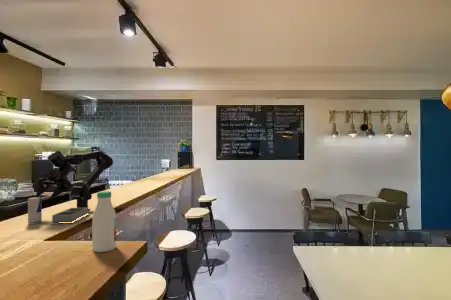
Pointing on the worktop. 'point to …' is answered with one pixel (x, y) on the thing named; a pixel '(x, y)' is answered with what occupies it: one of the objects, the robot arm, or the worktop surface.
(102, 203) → the milk bottle
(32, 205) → the energy drink
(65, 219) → the drink carrier
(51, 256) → the worktop surface
